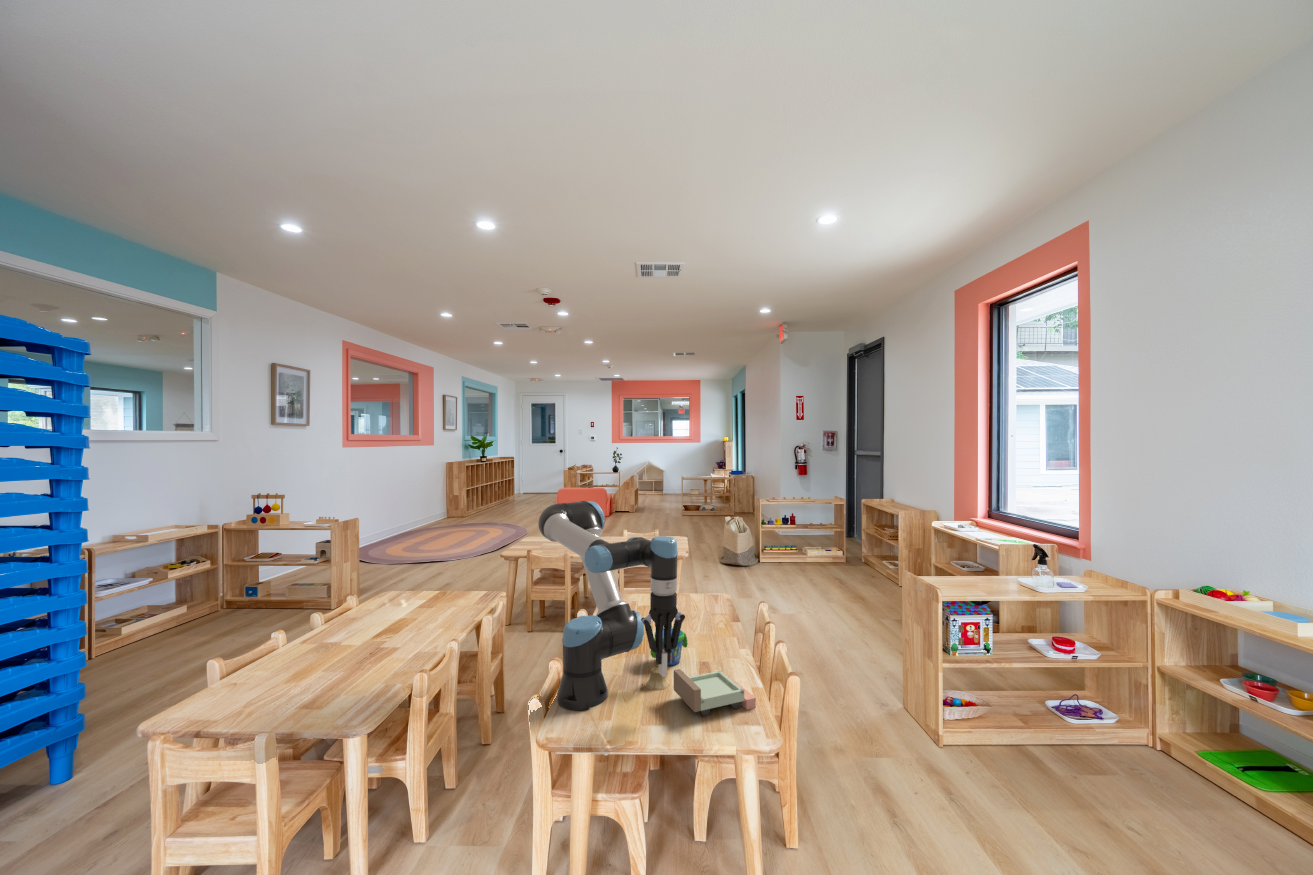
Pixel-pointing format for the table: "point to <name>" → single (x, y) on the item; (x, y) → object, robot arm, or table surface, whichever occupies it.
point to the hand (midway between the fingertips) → (662, 674)
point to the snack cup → (675, 653)
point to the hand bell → (657, 680)
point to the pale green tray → (707, 691)
